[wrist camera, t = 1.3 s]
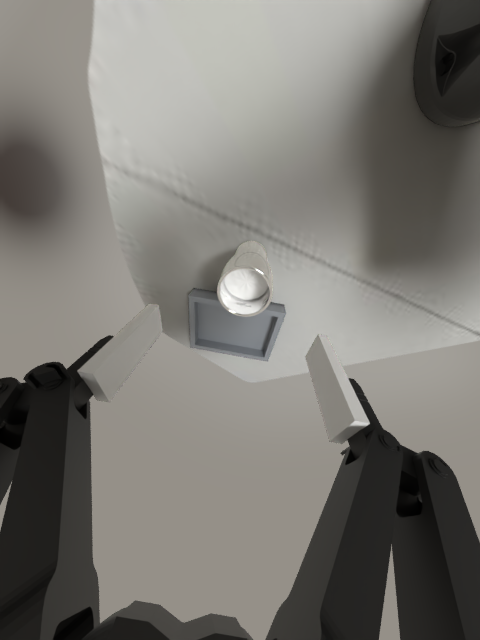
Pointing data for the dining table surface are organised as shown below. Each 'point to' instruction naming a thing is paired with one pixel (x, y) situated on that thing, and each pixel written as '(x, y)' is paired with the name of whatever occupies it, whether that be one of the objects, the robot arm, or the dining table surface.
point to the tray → (232, 327)
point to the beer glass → (246, 281)
